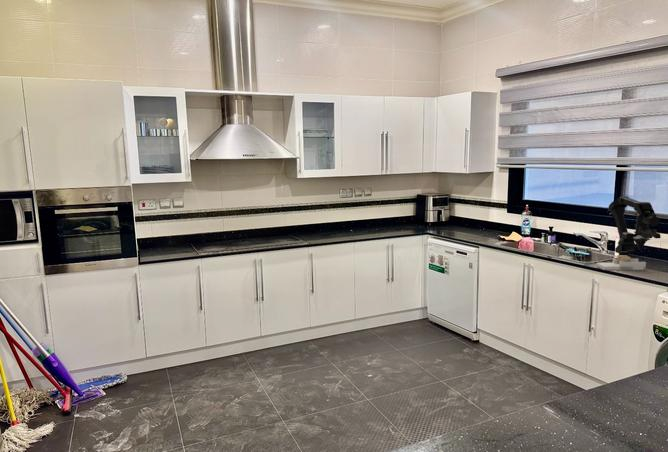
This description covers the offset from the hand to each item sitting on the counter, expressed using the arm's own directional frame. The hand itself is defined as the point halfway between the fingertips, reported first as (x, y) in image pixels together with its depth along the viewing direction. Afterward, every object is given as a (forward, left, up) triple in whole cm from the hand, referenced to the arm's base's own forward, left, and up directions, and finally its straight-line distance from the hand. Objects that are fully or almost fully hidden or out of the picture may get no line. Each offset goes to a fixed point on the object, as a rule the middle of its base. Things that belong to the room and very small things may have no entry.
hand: (639, 249), depth 268 cm
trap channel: (0, -10, -11) cm, 15 cm away
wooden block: (0, -9, -9) cm, 12 cm away
